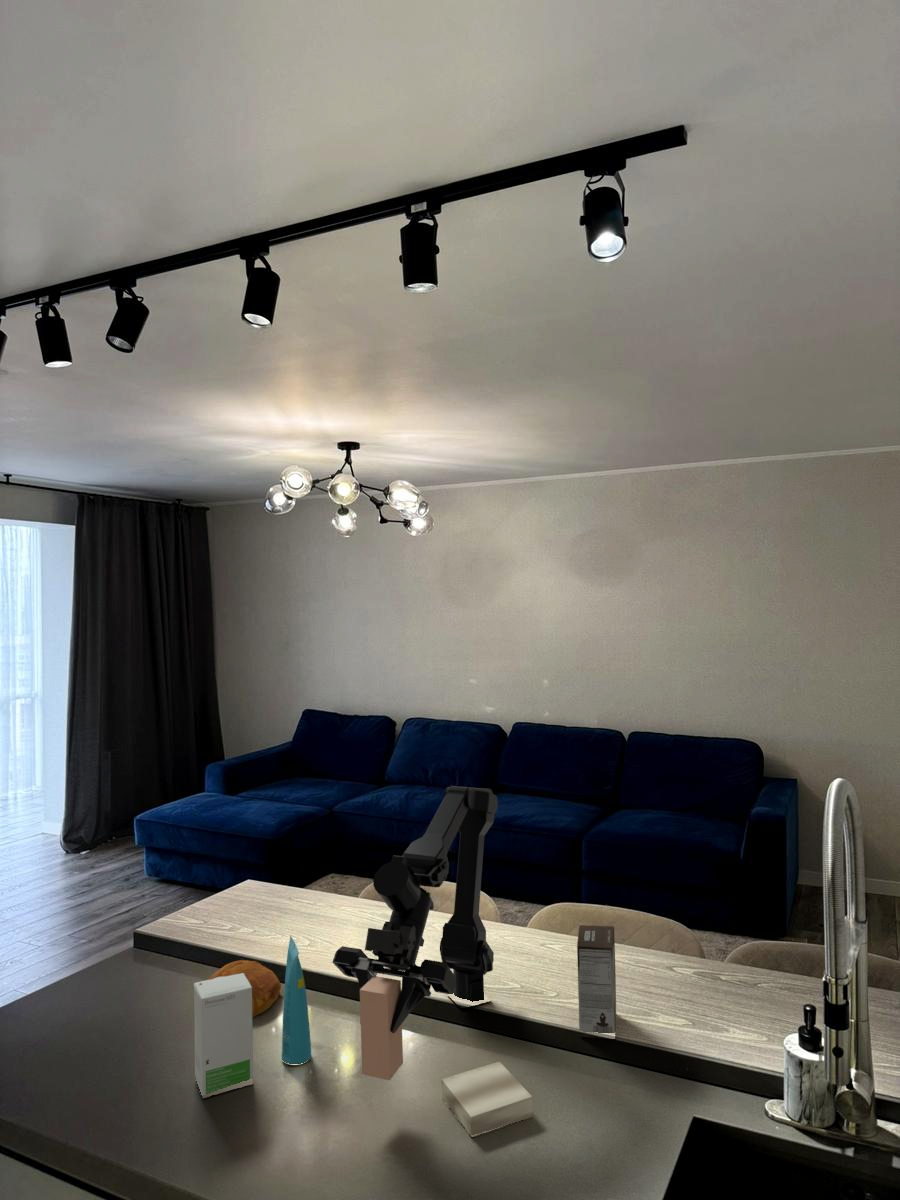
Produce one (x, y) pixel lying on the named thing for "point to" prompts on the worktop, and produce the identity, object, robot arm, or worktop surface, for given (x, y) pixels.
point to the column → (380, 1028)
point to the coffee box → (596, 979)
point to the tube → (295, 1012)
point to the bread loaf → (254, 982)
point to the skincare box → (223, 1032)
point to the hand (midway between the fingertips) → (377, 1029)
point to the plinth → (486, 1098)
